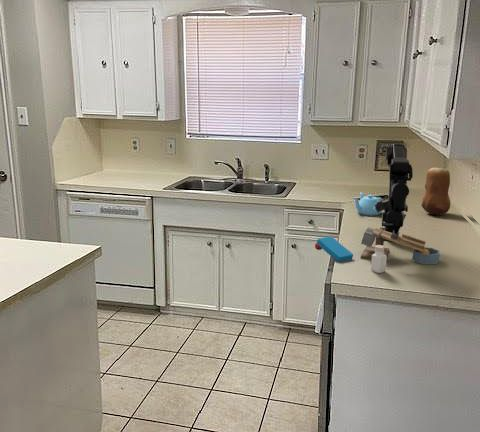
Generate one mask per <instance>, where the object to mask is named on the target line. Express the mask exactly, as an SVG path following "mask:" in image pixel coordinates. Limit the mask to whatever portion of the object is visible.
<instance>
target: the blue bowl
mask: <svg viewBox="0 0 480 432" xmlns="http://www.w3.org/2000/svg"><path fill="white" fill-rule="evenodd" d="M424 248H425V249H427V250H428V251H429V254H422V253H419V250H416V249H413V252H412V259H411V260H412V261H413V262H415V263H418V264H422V265H437V264H439V263H440V253H441V252H440V249H436V248H433V247H427V246H426V247H425V246H424Z"/></svg>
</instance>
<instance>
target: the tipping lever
mask: <svg viewBox="0 0 480 432" xmlns="http://www.w3.org/2000/svg"><path fill="white" fill-rule="evenodd" d="M400 233H401V232H400V231H399V232H398V233H395V232H394V230H393V233H390V232H387V231H384V230H383V229H380V228H378V227H375V228H371V227H370V226H369V227H367V228H366V229H365V231H364V232H363V237H362V239H361V244H360V245H364V246H369V247H371V246H372V247H373V245H374V242H375V241H376V234H378V235H381V238H383V239H386V240H385V241H387V240H389V241H390V242H393V243H396V244H398V245H402V246H404V247H408V248H411V249H413V250H414V249H416V250H419V251H422V252H423V250H424V247H425V245H426V241H425V240H423V239H419V238H416V237H412V236H410V235H407V234H404V233H402V235H400ZM389 241H388V242H389Z"/></svg>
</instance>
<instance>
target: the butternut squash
mask: <svg viewBox="0 0 480 432" xmlns="http://www.w3.org/2000/svg"><path fill="white" fill-rule="evenodd" d="M425 177H426V179H425V183H424V189H425V192H424V195H423V198H422V203H421V208H423V210H424V212H426V213H427V214H431V215H433V216H441V215H444V214H446V213H448V212H449V210H450V208H451V198H450V196H449V189H450V184H451V176H450V171H449V169H448V168H447V169H446V168H441V167H440V168H439V167H431V168H429V169H428V170H427V173H426V176H425Z"/></svg>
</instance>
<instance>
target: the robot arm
mask: <svg viewBox="0 0 480 432" xmlns="http://www.w3.org/2000/svg"><path fill="white" fill-rule="evenodd" d="M384 159H385V161H386V165H387V166H388V169H389V170H388V171H389V177H388V179H389V185H388V198H387V199H385V200H384V199H383V201H380V202H377V203H375V209H376V211H377V212H380V211H382V212H381V227H384V228H385V229H384V231H387V232H390V233H393V230H394V232H395V233H398V232H400V229H401V228H403V227H404V220H405V218H406V217H407V214H406V213H408V211H409V205H407V203H406V202H407V198H408V196H409V194H410V187H408V185H407V184H408V182H411V181H412V179H413V176H414V175H413V174H414V173H413V171H414V170H413V167H412V164H410V160H409V159H408V148H407V147H406V146H405V144H404V143H392V144H391V145H390V146H388V147H387V148H386V150H385V157H384ZM404 212H406V213H404ZM384 241H388V242H389V240H386V239H384Z"/></svg>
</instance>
